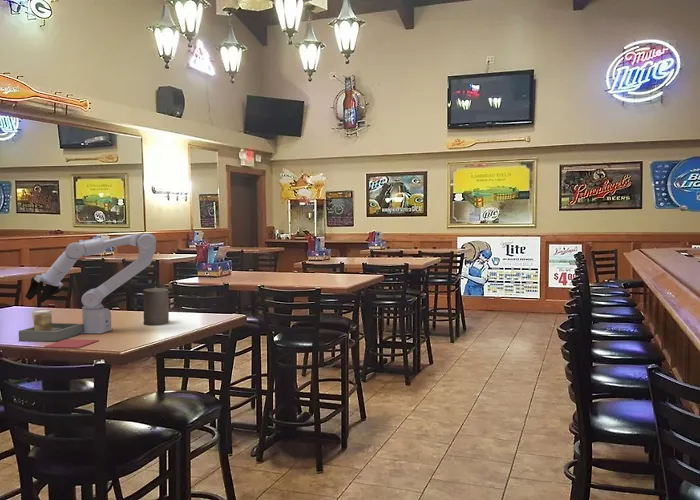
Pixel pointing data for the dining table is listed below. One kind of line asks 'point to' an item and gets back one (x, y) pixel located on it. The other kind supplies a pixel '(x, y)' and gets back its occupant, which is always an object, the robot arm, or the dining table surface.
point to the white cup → (40, 313)
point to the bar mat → (71, 343)
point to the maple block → (43, 322)
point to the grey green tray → (52, 333)
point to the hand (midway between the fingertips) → (33, 299)
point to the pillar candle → (156, 306)
